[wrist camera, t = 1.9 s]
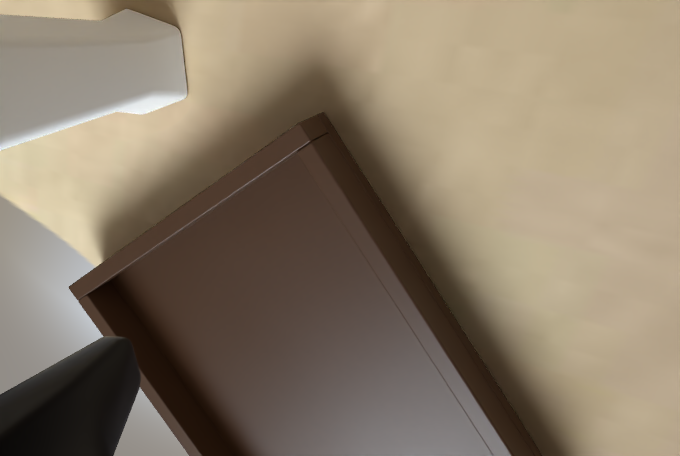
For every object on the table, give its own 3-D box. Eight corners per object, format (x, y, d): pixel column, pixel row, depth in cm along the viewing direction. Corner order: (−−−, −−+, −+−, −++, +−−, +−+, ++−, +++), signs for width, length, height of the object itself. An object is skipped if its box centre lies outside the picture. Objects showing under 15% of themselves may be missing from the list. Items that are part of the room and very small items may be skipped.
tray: (573, 504, 22) (574, 549, 20) (311, 562, 28) (293, 601, 26) (323, 111, 20) (299, 122, 18) (102, 267, 26) (67, 287, 25)
